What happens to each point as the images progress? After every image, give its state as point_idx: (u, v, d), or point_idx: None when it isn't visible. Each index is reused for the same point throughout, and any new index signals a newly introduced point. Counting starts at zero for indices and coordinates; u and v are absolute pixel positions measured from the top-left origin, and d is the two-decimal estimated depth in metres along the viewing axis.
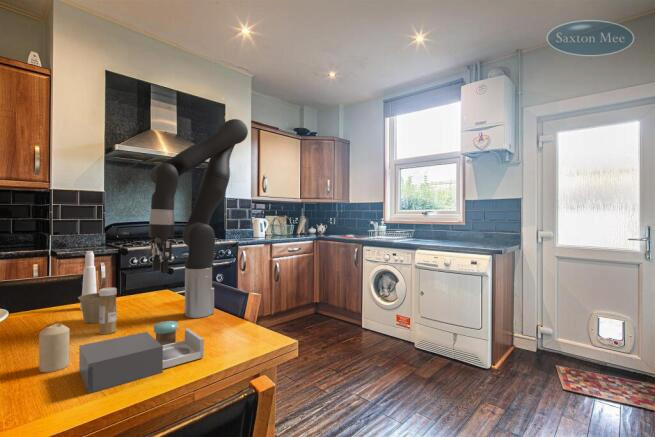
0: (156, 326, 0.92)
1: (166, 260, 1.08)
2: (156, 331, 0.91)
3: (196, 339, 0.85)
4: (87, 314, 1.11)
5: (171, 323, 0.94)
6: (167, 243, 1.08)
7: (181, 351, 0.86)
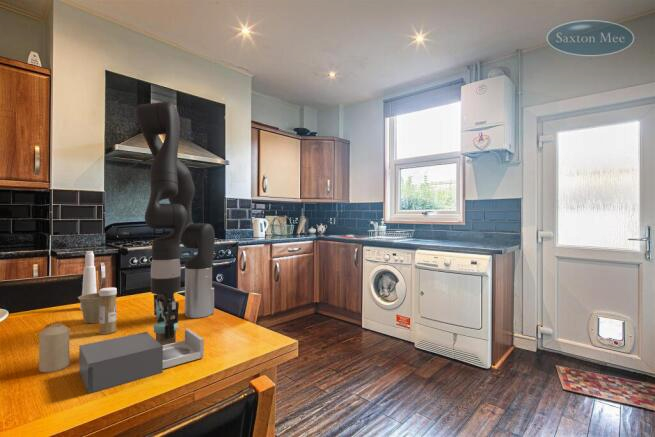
0: (156, 326, 0.92)
1: (171, 324, 0.90)
2: (156, 331, 0.91)
3: (196, 339, 0.85)
4: (87, 314, 1.11)
5: None
6: (173, 305, 0.88)
7: (181, 351, 0.86)
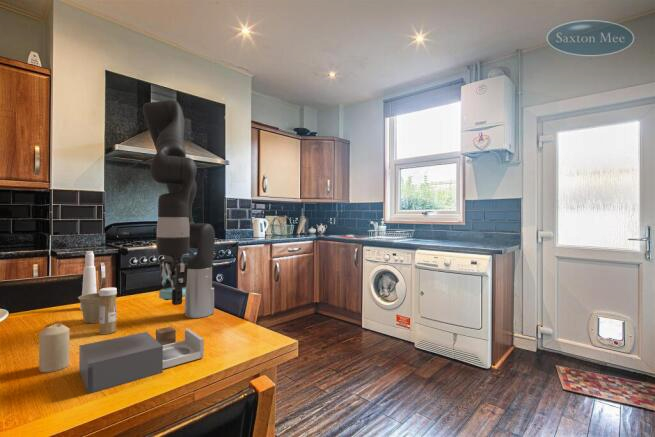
0: (162, 291, 0.82)
1: (179, 288, 0.81)
2: (162, 296, 0.82)
3: (196, 339, 0.85)
4: (87, 314, 1.11)
5: None
6: (182, 266, 0.79)
7: (181, 351, 0.86)
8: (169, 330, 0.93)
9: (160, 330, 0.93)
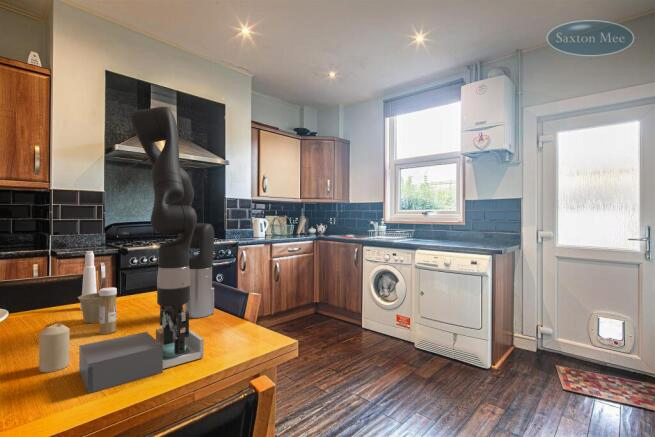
0: (163, 349, 0.83)
1: (182, 338, 0.80)
2: (163, 355, 0.82)
3: (196, 339, 0.85)
4: (87, 314, 1.11)
5: None
6: (183, 315, 0.79)
7: None
8: None
9: (160, 330, 0.93)
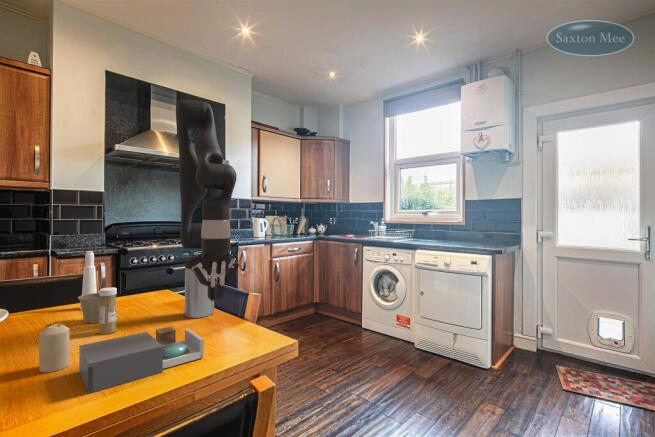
0: (163, 350, 0.82)
1: None
2: (163, 355, 0.82)
3: (196, 339, 0.85)
4: (87, 314, 1.11)
5: (179, 345, 0.85)
6: (192, 270, 0.88)
7: None
8: (169, 330, 0.93)
9: (160, 330, 0.93)
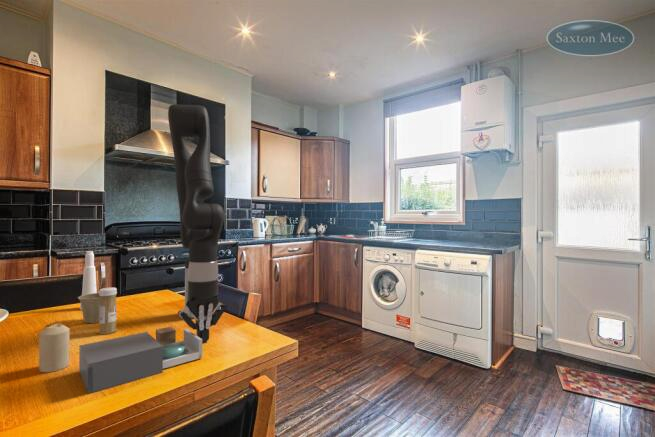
0: None
1: (194, 328, 0.88)
2: None
3: (195, 339, 0.85)
4: (87, 314, 1.11)
5: (178, 346, 0.85)
6: (179, 315, 0.85)
7: None
8: (169, 330, 0.93)
9: (160, 330, 0.93)
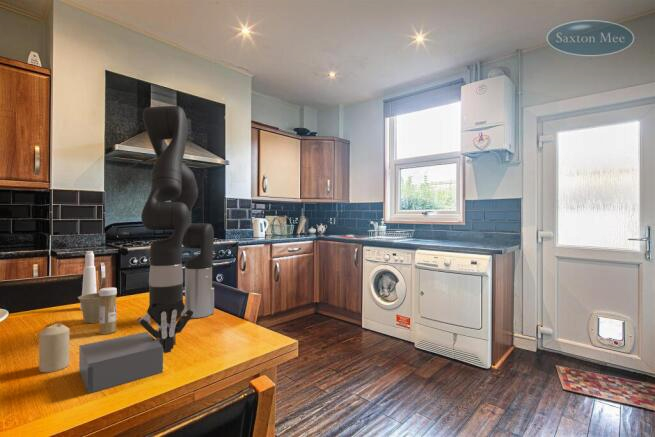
0: None
1: None
2: None
3: None
4: (87, 314, 1.11)
5: None
6: (139, 323, 0.79)
7: None
8: None
9: None
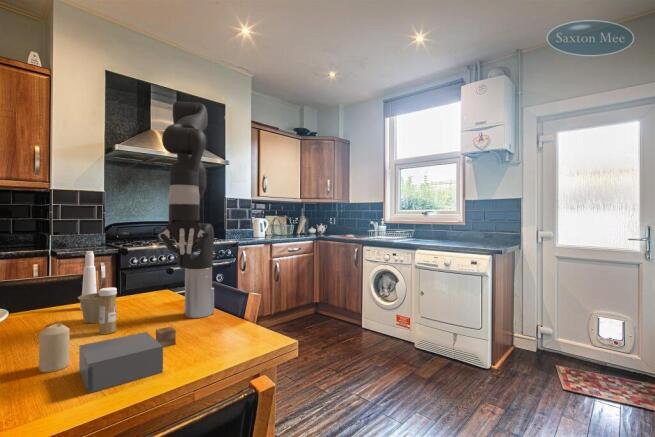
0: None
1: None
2: None
3: None
4: (87, 314, 1.11)
5: None
6: (159, 237, 0.85)
7: None
8: (169, 330, 0.93)
9: (160, 330, 0.93)
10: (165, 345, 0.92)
